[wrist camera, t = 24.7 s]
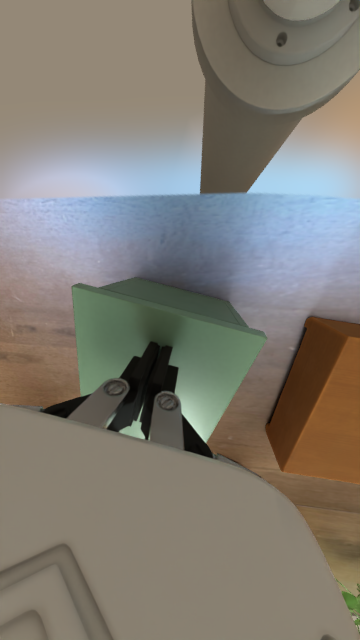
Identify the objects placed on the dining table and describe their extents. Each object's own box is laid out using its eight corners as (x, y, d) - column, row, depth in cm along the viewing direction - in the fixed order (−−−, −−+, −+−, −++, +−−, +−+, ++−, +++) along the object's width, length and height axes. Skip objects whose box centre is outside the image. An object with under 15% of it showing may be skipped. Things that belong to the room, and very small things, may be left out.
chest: (135, 276, 22) (98, 287, 14) (229, 301, 22) (249, 327, 14) (121, 373, 27) (88, 422, 19) (196, 393, 27) (196, 451, 19)
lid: (79, 282, 11) (71, 285, 10) (264, 331, 11) (268, 338, 10) (87, 422, 19) (83, 429, 18) (196, 451, 19) (196, 460, 18)
